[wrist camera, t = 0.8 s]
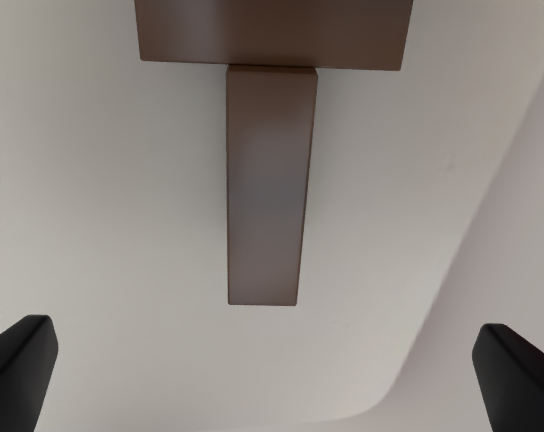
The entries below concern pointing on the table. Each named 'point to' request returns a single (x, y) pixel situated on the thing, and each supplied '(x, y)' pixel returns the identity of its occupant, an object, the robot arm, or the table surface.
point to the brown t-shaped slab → (271, 109)
